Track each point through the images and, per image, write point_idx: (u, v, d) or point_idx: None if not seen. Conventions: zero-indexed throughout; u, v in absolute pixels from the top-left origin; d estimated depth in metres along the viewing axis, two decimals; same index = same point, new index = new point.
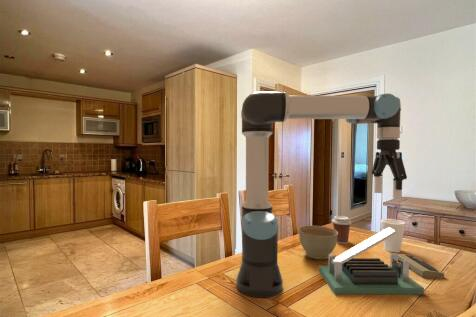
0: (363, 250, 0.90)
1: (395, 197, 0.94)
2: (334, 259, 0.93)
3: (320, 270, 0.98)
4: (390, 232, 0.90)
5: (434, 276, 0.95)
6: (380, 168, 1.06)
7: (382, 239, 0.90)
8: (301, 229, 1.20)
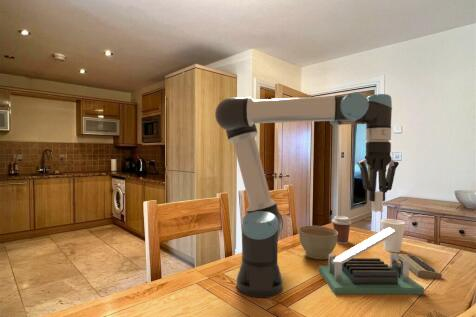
0: (363, 250, 0.90)
1: (372, 208, 0.92)
2: (334, 259, 0.93)
3: (320, 270, 0.98)
4: (390, 232, 0.90)
5: (431, 277, 0.95)
6: (379, 177, 0.91)
7: (382, 239, 0.90)
8: (301, 229, 1.20)
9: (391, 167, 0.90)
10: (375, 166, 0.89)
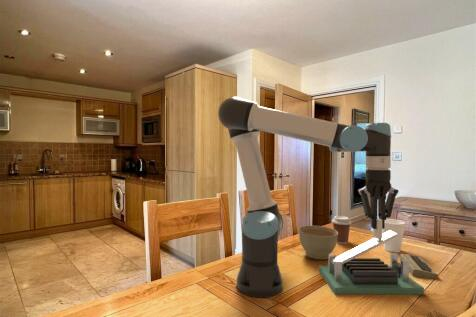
0: (364, 251, 0.90)
1: (374, 235, 0.92)
2: (334, 259, 0.93)
3: (320, 270, 0.98)
4: (391, 234, 0.90)
5: (427, 277, 0.95)
6: (379, 204, 0.92)
7: (383, 241, 0.90)
8: (301, 229, 1.20)
9: (391, 194, 0.91)
10: (375, 194, 0.89)
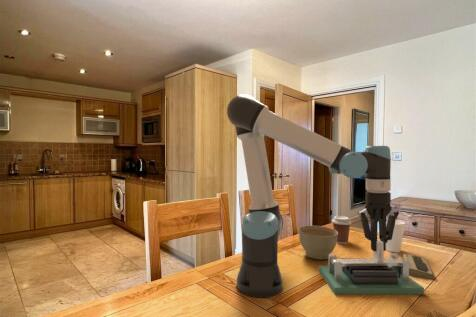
0: (367, 264, 0.90)
1: (374, 257, 0.92)
2: (335, 259, 0.93)
3: (320, 270, 0.98)
4: (398, 261, 0.91)
5: (421, 276, 0.95)
6: (380, 226, 0.92)
7: (389, 264, 0.90)
8: (301, 229, 1.20)
9: (391, 217, 0.91)
10: (375, 217, 0.90)
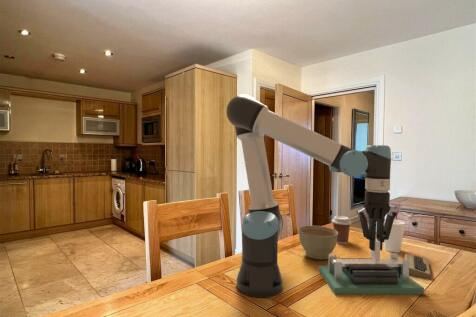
0: (367, 265, 0.90)
1: (371, 257, 0.93)
2: (335, 259, 0.93)
3: (320, 270, 0.98)
4: (398, 262, 0.91)
5: (418, 276, 0.96)
6: (377, 226, 0.92)
7: (389, 265, 0.90)
8: (301, 229, 1.20)
9: (389, 217, 0.91)
10: (374, 216, 0.90)
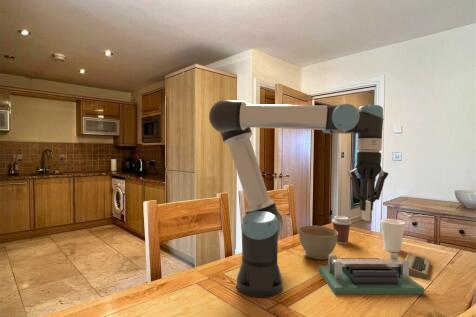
0: (367, 265, 0.90)
1: (362, 217, 0.93)
2: (335, 259, 0.93)
3: (320, 270, 0.98)
4: (398, 262, 0.91)
5: (415, 275, 0.96)
6: (368, 187, 0.93)
7: (389, 265, 0.90)
8: (301, 229, 1.20)
9: (380, 177, 0.92)
10: (365, 176, 0.90)
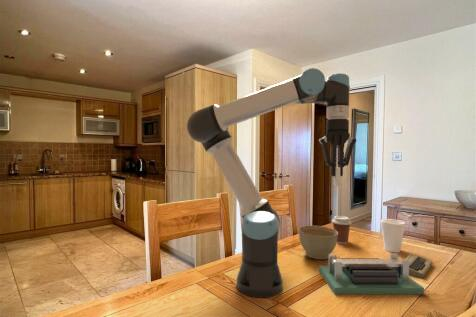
0: (367, 265, 0.90)
1: (333, 183, 0.97)
2: (335, 259, 0.93)
3: (320, 270, 0.98)
4: (398, 262, 0.91)
5: (411, 274, 0.97)
6: (338, 153, 0.96)
7: (389, 265, 0.90)
8: (301, 229, 1.20)
9: (349, 144, 0.95)
10: (334, 142, 0.94)
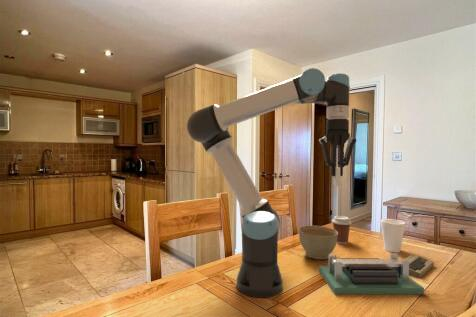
0: (367, 265, 0.90)
1: (333, 183, 0.97)
2: (335, 259, 0.93)
3: (320, 270, 0.98)
4: (398, 262, 0.91)
5: (409, 273, 0.97)
6: (338, 153, 0.96)
7: (389, 265, 0.90)
8: (301, 229, 1.20)
9: (349, 144, 0.95)
10: (334, 142, 0.94)
